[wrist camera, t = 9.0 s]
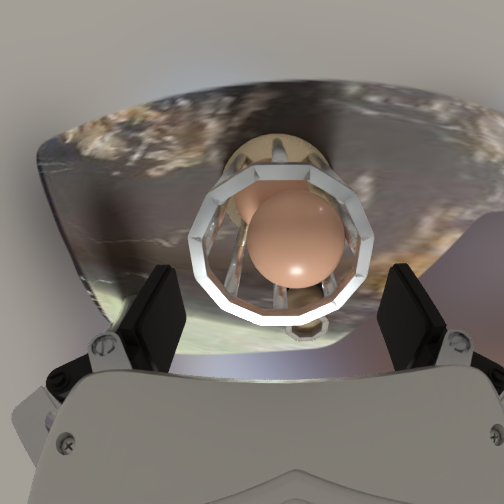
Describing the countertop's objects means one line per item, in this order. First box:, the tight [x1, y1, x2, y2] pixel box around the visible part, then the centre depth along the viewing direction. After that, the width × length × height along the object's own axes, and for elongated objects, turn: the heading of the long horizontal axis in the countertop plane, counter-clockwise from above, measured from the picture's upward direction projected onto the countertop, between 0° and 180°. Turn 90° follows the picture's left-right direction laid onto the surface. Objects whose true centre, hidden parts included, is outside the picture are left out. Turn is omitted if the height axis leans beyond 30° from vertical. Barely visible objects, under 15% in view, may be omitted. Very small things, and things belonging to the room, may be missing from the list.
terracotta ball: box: [247, 190, 345, 288], centre depth 16 cm, size 6×6×6 cm
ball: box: [234, 158, 310, 225], centre depth 21 cm, size 6×6×6 cm
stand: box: [285, 285, 329, 341], centre depth 29 cm, size 4×4×5 cm
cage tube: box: [188, 133, 374, 325], centre depth 19 cm, size 10×10×13 cm
